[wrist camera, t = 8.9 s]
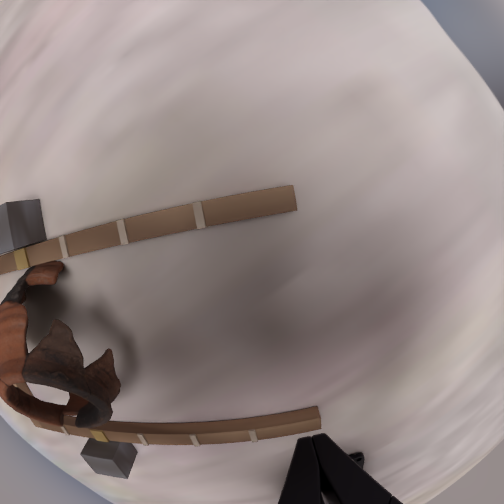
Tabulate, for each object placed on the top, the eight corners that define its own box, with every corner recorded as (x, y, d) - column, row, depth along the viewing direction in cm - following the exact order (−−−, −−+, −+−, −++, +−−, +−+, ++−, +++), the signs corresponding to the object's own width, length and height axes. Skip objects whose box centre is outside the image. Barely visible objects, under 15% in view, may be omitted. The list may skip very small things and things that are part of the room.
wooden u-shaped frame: (319, 439, 18) (327, 469, 14) (54, 438, 18) (41, 457, 15) (279, 134, 14) (288, 118, 10) (-32, 234, 14) (-58, 240, 11)
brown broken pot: (99, 237, 15) (80, 358, 9) (138, 336, 21) (148, 433, 14) (-34, 268, 12) (-73, 361, 6) (21, 349, 18) (11, 432, 12)
